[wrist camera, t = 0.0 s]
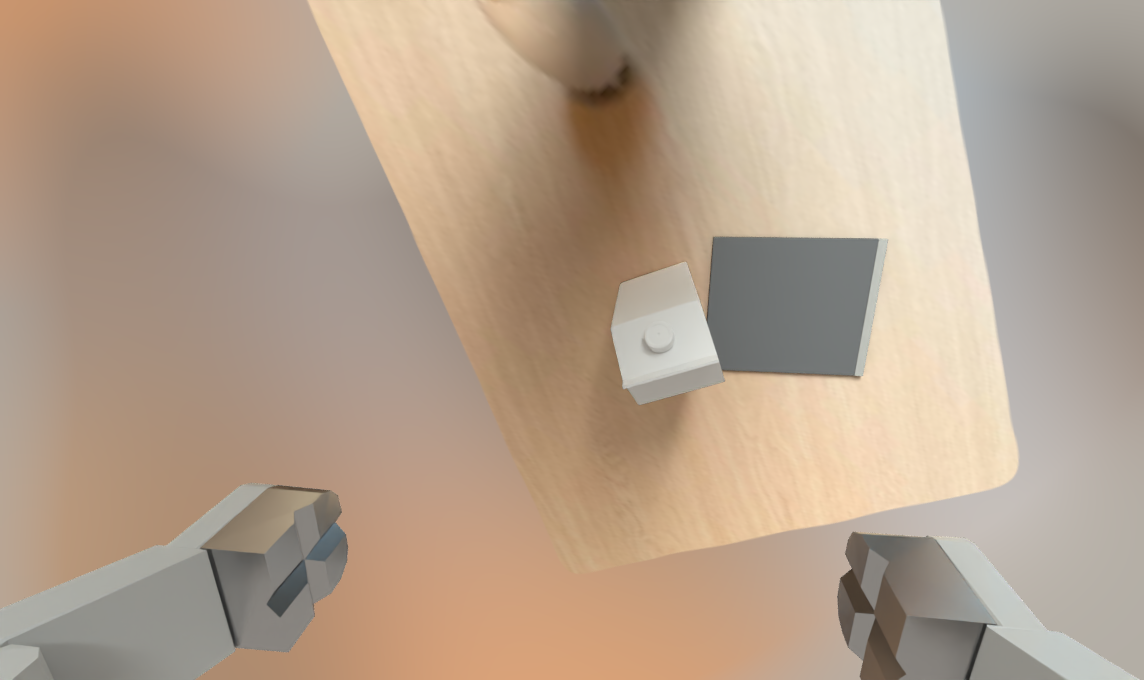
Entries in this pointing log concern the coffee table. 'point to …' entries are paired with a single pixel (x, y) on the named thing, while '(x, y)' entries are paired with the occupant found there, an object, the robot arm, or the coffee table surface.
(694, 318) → the milk carton
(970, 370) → the coffee table surface
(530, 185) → the coffee table surface
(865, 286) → the mat
